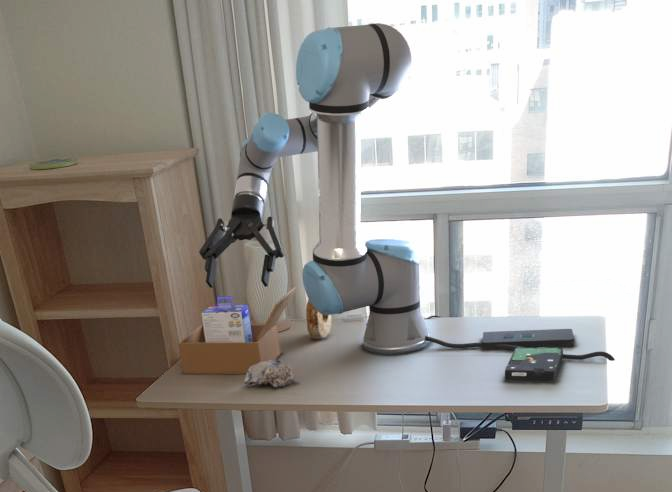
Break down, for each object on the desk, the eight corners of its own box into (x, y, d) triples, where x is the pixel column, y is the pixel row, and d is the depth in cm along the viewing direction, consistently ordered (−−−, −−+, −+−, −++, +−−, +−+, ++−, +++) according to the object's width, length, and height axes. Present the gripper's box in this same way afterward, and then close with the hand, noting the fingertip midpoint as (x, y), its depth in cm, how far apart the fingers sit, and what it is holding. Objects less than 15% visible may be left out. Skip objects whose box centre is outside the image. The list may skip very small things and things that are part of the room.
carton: (280, 353, 218) (277, 324, 215) (261, 373, 207) (257, 342, 203) (205, 353, 223) (201, 324, 219) (183, 373, 212) (178, 343, 208)
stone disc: (320, 344, 222) (316, 301, 217) (306, 343, 223) (302, 301, 218) (335, 330, 230) (331, 289, 225) (321, 330, 231) (317, 289, 226)
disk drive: (556, 384, 187) (562, 359, 198) (556, 370, 185) (563, 346, 197) (504, 383, 190) (514, 358, 201) (504, 369, 188) (514, 345, 200)
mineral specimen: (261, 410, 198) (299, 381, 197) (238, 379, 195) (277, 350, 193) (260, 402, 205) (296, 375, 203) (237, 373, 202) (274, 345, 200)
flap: (276, 320, 214) (277, 321, 214) (257, 339, 203) (258, 340, 203) (294, 286, 209) (296, 287, 209) (276, 303, 198) (277, 304, 198)
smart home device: (483, 331, 214) (572, 327, 211) (483, 338, 215) (571, 335, 212) (482, 342, 207) (574, 338, 204) (482, 349, 208) (573, 346, 205)
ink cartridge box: (256, 357, 216) (247, 293, 208) (249, 364, 212) (240, 300, 204) (215, 357, 218) (206, 295, 210) (208, 365, 214) (198, 302, 206)
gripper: (304, 209, 219) (292, 291, 215) (206, 213, 225) (193, 293, 221) (295, 189, 212) (283, 273, 208) (194, 194, 218) (180, 276, 214)
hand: (236, 284), depth 214 cm, fingers open, 13 cm apart
